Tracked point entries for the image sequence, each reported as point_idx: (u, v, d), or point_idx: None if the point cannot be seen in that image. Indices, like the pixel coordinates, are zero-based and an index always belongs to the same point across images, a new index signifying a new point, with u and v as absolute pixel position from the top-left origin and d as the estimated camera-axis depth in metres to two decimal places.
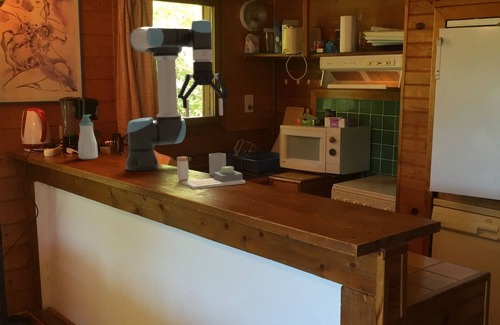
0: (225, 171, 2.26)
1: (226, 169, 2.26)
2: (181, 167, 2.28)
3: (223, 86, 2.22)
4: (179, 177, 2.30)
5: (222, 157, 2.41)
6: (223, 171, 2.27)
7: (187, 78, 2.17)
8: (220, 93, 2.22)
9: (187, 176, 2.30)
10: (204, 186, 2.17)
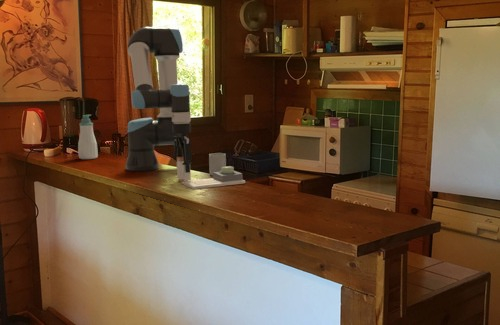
0: (225, 171, 2.26)
1: (226, 169, 2.26)
2: (181, 167, 2.28)
3: (185, 152, 2.23)
4: (179, 177, 2.30)
5: (222, 157, 2.41)
6: (223, 171, 2.27)
7: (174, 140, 2.33)
8: (183, 158, 2.25)
9: None
10: (204, 186, 2.17)
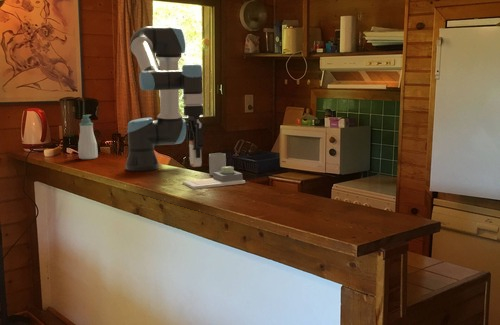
0: (225, 171, 2.26)
1: (226, 169, 2.26)
2: (193, 151, 2.18)
3: (196, 136, 2.14)
4: (191, 162, 2.20)
5: (222, 157, 2.41)
6: (223, 171, 2.27)
7: (186, 125, 2.23)
8: (194, 143, 2.16)
9: None
10: (204, 186, 2.17)
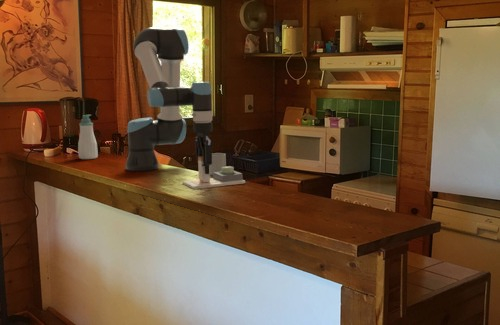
0: (225, 171, 2.26)
1: (226, 169, 2.26)
2: (202, 167, 2.20)
3: (205, 153, 2.17)
4: (200, 178, 2.22)
5: (222, 157, 2.41)
6: (223, 171, 2.27)
7: (195, 141, 2.26)
8: (203, 159, 2.19)
9: None
10: (204, 186, 2.17)
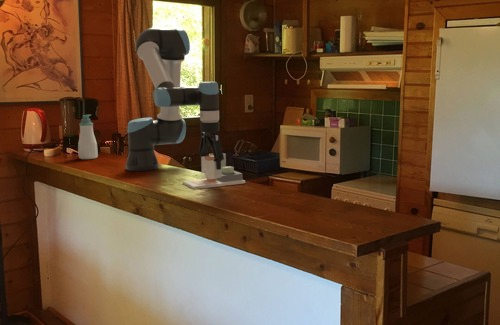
0: (225, 171, 2.26)
1: (226, 169, 2.26)
2: (209, 167, 2.22)
3: (215, 149, 2.15)
4: (207, 177, 2.24)
5: None
6: (223, 171, 2.27)
7: (201, 136, 2.27)
8: (214, 155, 2.17)
9: None
10: (204, 186, 2.17)
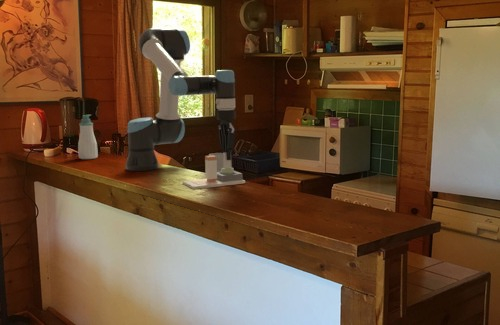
0: (225, 172, 2.26)
1: (226, 170, 2.26)
2: (209, 167, 2.22)
3: (228, 140, 2.22)
4: (207, 177, 2.24)
5: (222, 157, 2.41)
6: (223, 172, 2.27)
7: (218, 129, 2.30)
8: (225, 146, 2.25)
9: (215, 176, 2.23)
10: (204, 186, 2.17)
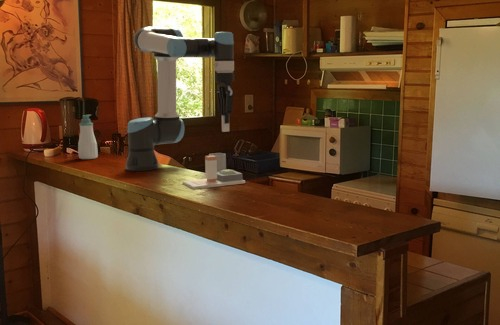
0: (225, 174, 2.26)
1: (226, 172, 2.26)
2: (209, 167, 2.22)
3: (226, 103, 2.21)
4: (207, 177, 2.24)
5: (222, 157, 2.41)
6: (223, 174, 2.27)
7: (217, 93, 2.29)
8: (223, 109, 2.24)
9: (215, 176, 2.23)
10: (204, 186, 2.17)
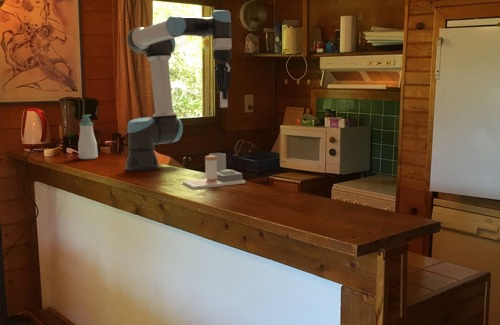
0: (225, 174, 2.26)
1: (226, 172, 2.26)
2: (209, 167, 2.22)
3: (224, 79, 2.29)
4: (207, 177, 2.24)
5: (222, 157, 2.41)
6: (223, 174, 2.27)
7: (215, 70, 2.37)
8: (221, 85, 2.32)
9: (215, 176, 2.23)
10: (204, 186, 2.17)
